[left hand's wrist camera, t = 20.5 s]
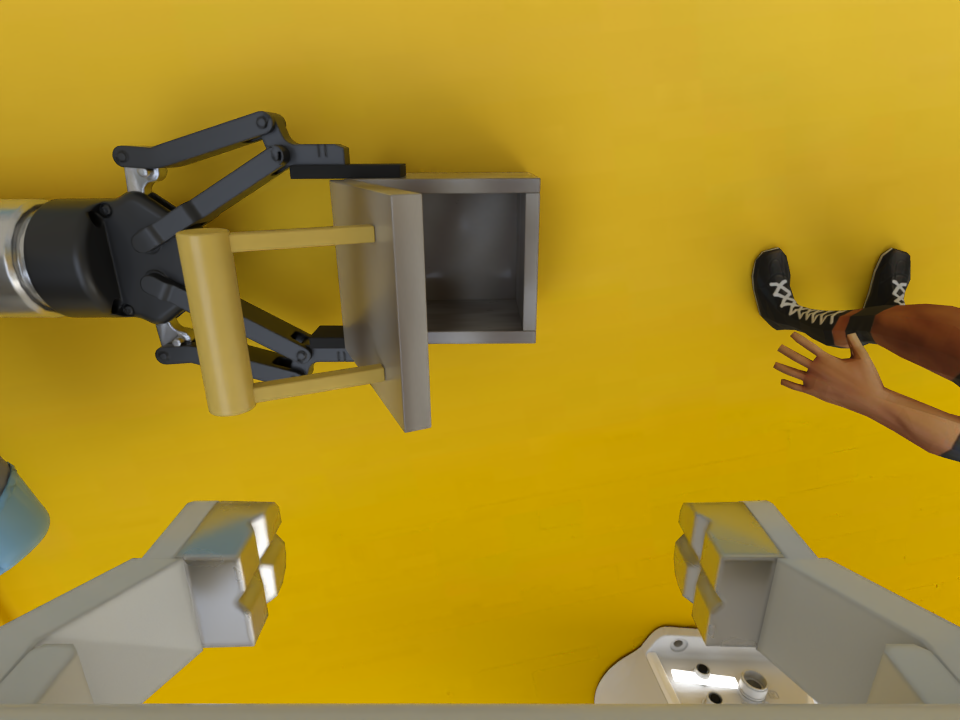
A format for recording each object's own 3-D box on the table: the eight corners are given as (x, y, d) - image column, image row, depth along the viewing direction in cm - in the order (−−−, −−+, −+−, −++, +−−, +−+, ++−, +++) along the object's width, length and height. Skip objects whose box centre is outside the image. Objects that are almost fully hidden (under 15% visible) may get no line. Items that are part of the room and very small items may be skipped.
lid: (422, 193, 22) (163, 203, 18) (431, 427, 25) (215, 472, 22) (351, 179, 32) (178, 184, 29) (365, 346, 36) (211, 368, 32)
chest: (528, 171, 41) (540, 177, 32) (525, 306, 44) (535, 343, 36) (371, 173, 41) (343, 179, 32) (380, 307, 44) (357, 344, 36)
